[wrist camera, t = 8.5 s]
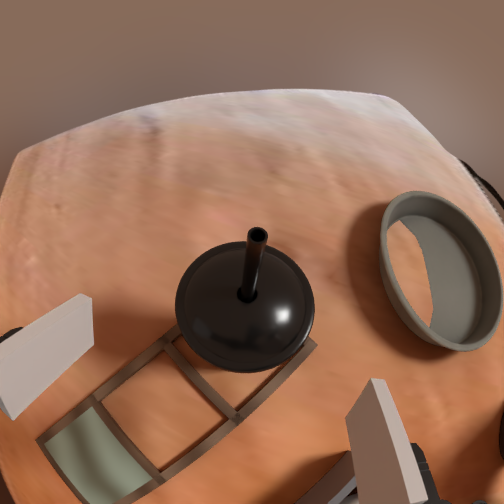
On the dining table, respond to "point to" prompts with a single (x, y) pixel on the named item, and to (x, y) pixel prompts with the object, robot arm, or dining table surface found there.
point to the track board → (121, 447)
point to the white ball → (350, 499)
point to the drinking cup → (245, 305)
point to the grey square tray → (333, 484)
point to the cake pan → (446, 272)
